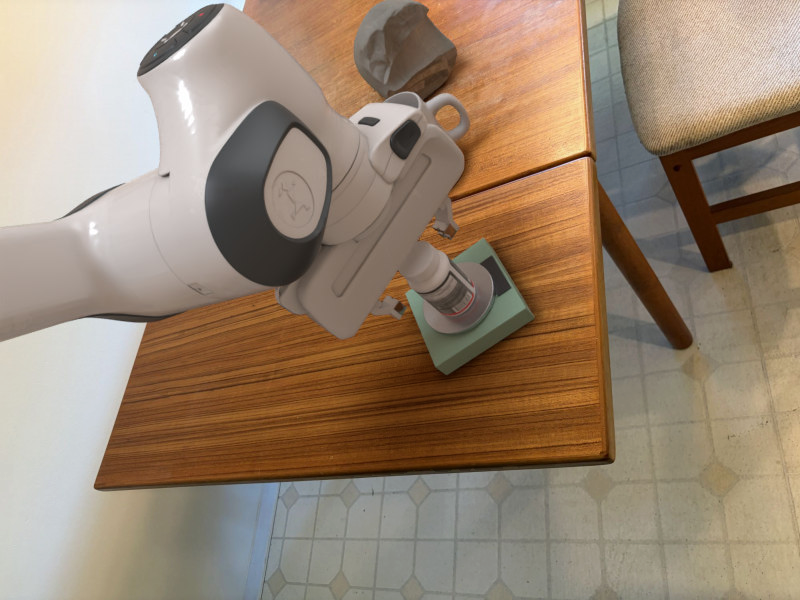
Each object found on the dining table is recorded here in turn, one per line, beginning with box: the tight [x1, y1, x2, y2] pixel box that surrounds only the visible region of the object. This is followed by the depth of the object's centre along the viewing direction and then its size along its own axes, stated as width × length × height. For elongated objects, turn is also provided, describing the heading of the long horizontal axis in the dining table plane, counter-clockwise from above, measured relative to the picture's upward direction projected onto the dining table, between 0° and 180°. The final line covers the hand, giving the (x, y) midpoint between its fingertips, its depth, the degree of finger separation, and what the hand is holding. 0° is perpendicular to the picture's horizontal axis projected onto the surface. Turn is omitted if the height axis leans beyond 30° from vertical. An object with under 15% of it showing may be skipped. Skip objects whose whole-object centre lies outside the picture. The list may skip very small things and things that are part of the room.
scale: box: [404, 237, 536, 376], centre depth 60 cm, size 11×11×3 cm
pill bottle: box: [398, 240, 476, 316], centre depth 56 cm, size 5×5×8 cm
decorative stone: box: [353, 0, 458, 101], centre depth 81 cm, size 12×17×15 cm
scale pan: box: [423, 262, 495, 335], centre depth 59 cm, size 8×8×1 cm
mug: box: [382, 92, 471, 186], centre depth 70 cm, size 12×8×11 cm
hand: (425, 272), depth 55 cm, fingers open, 8 cm apart
